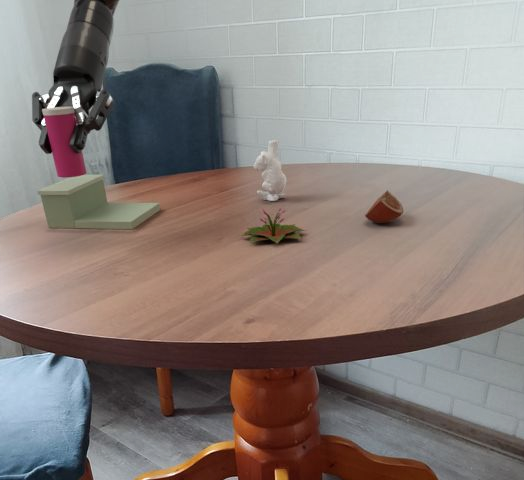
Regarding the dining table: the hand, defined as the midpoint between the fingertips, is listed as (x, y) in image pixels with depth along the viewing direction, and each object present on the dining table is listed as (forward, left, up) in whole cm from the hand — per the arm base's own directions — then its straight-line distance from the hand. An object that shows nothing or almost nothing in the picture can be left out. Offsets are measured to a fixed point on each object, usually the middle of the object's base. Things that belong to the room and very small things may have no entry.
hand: (60, 150), depth 85 cm
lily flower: (+24, -23, -17) cm, 37 cm away
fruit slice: (+42, -34, -17) cm, 56 cm away
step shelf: (+14, +14, -16) cm, 26 cm away
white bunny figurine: (+44, -5, -17) cm, 47 cm away
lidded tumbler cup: (+2, +1, -4) cm, 5 cm away
